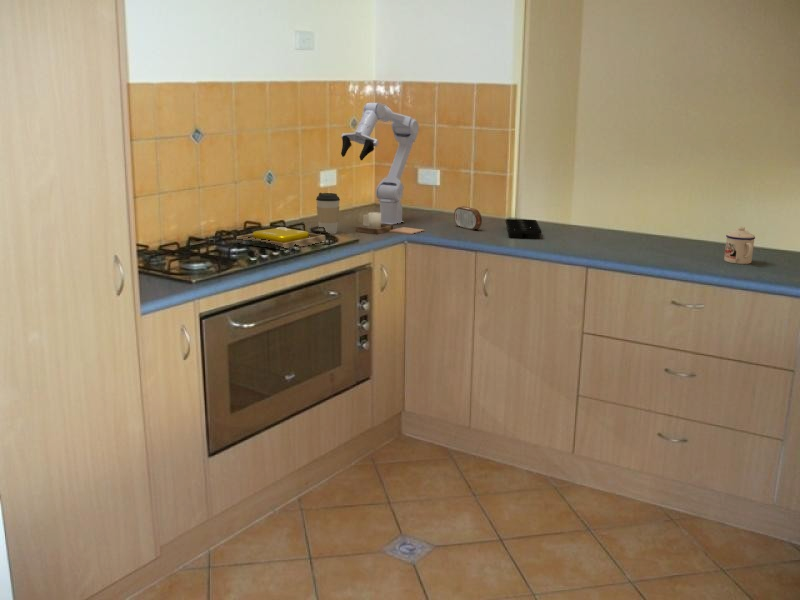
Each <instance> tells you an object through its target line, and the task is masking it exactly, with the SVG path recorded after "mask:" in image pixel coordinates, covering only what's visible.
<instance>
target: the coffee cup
mask: <svg viewBox="0 0 800 600" xmlns="http://www.w3.org/2000/svg"><path fill="white" fill-rule="evenodd" d="M315 200H316V214H317V222H318V228H319V227H324V228H325V230H326V232H328V233H330V234H329V235H333V234H337V233H338V222H339V215H340V201H341V199H340V197H339V196H338V193H332V192H331V193H330V192H319V193H318V196H316V199H315Z"/></svg>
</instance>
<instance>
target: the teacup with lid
mask: <svg viewBox="0 0 800 600" xmlns="http://www.w3.org/2000/svg"><path fill="white" fill-rule="evenodd" d="M725 236H726V241H725V249H724V256H723V257H724V258H723V259H724V261H725V262H727V263H729V264H735V265H736V264H738V265H748V264H751V263H752V261H753V260H752V259H753V253H754V246H755V239H756V236H755V234H752V233H750V232H749V231H747V230H746V229H745V227H743V226H739V227H738V228H737V229H735V230H733V231H731V232H728V233H726V235H725Z"/></svg>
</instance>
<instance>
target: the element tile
mask: <svg viewBox="0 0 800 600" xmlns="http://www.w3.org/2000/svg"><path fill="white" fill-rule="evenodd" d="M252 233H253V238H256V239H266V240H270V241H275V242H281V243H287V242H292V241H297V240H301V239H306V238H309V233H310V232H309V231H307V230H300V229H293V228H287V227H284V226H280V227H275V228H270V229H269V228H268V229H263V230H262V229H261V230H256V231H253V232H252Z"/></svg>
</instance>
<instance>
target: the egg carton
mask: <svg viewBox="0 0 800 600" xmlns="http://www.w3.org/2000/svg"><path fill="white" fill-rule="evenodd" d="M504 223H505V225H506V230H507V233H508V234H507V235H508V238H509V239H519V240H520V239H527V240H539V239H540V236H541V234H542V229H541V227H540V225H539V223H538V221H537V220H536V219H514V218H511V219H510V218H505V222H504ZM530 227H531V228H530Z"/></svg>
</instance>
